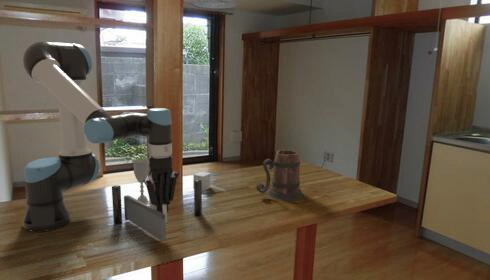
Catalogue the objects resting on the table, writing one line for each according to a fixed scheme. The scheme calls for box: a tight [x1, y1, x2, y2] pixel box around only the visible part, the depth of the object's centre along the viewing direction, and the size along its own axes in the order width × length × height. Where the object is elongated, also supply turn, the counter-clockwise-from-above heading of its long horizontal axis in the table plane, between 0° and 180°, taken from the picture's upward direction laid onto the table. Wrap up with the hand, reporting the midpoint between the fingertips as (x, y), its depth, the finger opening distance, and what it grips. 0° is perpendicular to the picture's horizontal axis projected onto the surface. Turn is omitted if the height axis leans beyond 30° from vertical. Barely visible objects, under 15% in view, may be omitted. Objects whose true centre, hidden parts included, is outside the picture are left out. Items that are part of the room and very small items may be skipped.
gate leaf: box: [123, 194, 167, 242], centre depth 127 cm, size 25×2×10 cm, turn 46°
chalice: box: [132, 158, 150, 205], centre depth 153 cm, size 7×7×18 cm
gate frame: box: [111, 180, 203, 225], centre depth 138 cm, size 33×3×14 cm, turn 108°
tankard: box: [256, 149, 304, 201], centre depth 166 cm, size 24×17×20 cm
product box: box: [192, 171, 212, 192], centre depth 173 cm, size 6×6×7 cm
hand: (163, 222), depth 124 cm, fingers closed
